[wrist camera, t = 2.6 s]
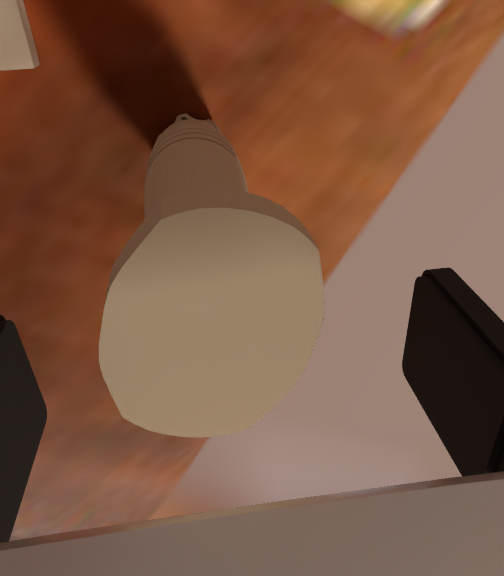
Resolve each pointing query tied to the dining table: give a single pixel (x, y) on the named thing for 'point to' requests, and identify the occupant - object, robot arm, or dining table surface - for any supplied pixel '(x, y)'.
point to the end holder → (16, 37)
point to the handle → (208, 295)
